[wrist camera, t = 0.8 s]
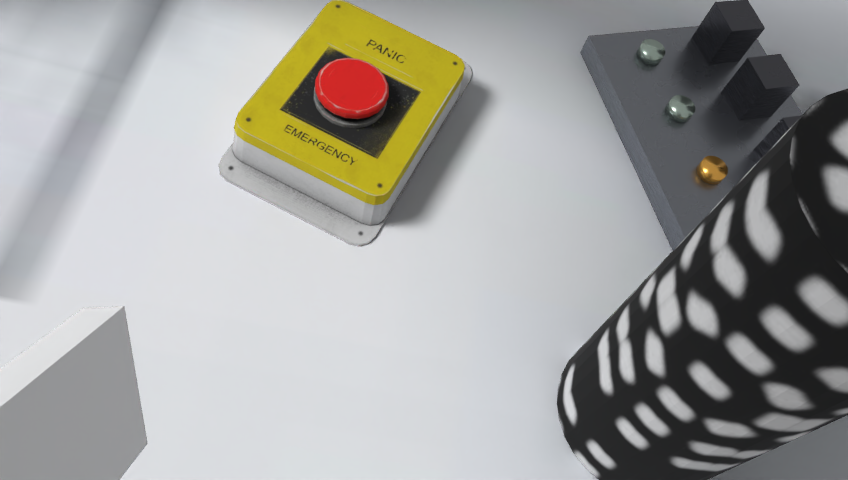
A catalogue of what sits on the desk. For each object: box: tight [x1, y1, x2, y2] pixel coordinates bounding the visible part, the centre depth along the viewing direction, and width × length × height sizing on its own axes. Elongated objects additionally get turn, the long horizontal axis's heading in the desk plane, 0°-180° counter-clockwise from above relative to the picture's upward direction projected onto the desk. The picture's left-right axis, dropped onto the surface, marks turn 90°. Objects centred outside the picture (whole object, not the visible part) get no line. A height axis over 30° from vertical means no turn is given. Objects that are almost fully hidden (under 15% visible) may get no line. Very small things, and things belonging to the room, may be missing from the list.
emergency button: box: [219, 0, 472, 246], centre depth 44 cm, size 9×4×15 cm
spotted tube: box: [557, 89, 848, 480], centre depth 31 cm, size 8×8×20 cm
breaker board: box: [581, 0, 802, 250], centre depth 46 cm, size 24×12×4 cm, turn 16°
